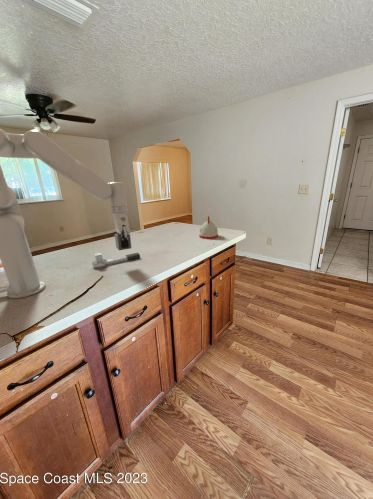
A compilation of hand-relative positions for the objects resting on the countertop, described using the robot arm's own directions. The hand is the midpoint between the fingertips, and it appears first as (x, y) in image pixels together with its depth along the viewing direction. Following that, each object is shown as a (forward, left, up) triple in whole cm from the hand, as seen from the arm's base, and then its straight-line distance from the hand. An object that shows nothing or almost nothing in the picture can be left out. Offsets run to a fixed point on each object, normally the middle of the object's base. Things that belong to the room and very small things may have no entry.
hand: (123, 245), depth 102 cm
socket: (0, 0, -1) cm, 1 cm away
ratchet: (-3, +8, -11) cm, 14 cm away
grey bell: (+68, +20, -11) cm, 71 cm away
